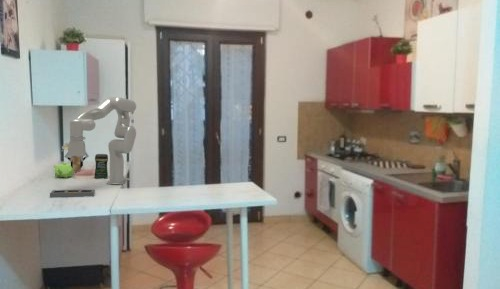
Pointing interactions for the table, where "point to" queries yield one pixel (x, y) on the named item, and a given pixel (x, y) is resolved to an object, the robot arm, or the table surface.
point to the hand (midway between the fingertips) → (76, 167)
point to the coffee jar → (101, 166)
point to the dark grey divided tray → (72, 193)
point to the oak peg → (76, 164)
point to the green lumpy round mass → (63, 170)
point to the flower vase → (65, 147)
